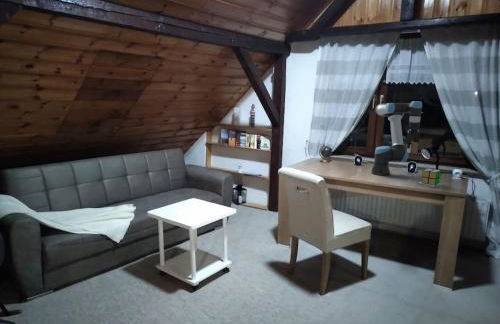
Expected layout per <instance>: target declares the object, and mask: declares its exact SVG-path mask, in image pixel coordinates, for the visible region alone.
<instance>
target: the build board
mask: <svg viewBox="0 0 500 324" xmlns="http://www.w3.org/2000/svg"><path fill="white" fill-rule="evenodd" d="M416 184H417V185H420V186H424V187H427V186H428V188H431V187H432V189H436V188H439V187H444V186H445V185H446V184H445V183H440V182H439V183H438V184H437V185H430V184H424V183H421V181H417V182H416Z"/></svg>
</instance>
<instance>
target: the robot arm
mask: <svg viewBox="0 0 500 324" xmlns="http://www.w3.org/2000/svg"><path fill="white" fill-rule="evenodd" d="M422 109H423V102H422V101H418V100H417V101H416V100H415V101H414V100H413V101H411V102H409V103H407V102H405V103H404V102H397V103H396V102H395V103H394V102H387V103H379V104H377V105H376V107H375V108H374V112H375V114H376V115H378V116H380V117H387V119H388V121H389V122H390V124H389V125H390V134H391V144H392V145H391V146H389V145H382V146H377V147H376V148H375V150H374V163H373V166H372V168H371V174H373V175H376V176H389V175H391V169H390V166H389V163H390V162H391V163H406V162H407V160H408V158H409V156H410V154H412V153H411V142H418V144H419V143H420V138H421V137H420V136H421V129H419V128H421V127H420V126H421V125H420V124H421V116H422ZM405 114H409V118H408V119H409V121H408V127H409V129H407V130H406V136H405V137H406V138H405V144H404V140H403V129H402V122H401V121H402V119H403V116H404V115H405ZM406 144H407V152H408V153H406V152H405V151H406Z"/></svg>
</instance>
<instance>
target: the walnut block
mask: <svg viewBox="0 0 500 324" xmlns="http://www.w3.org/2000/svg"><path fill="white" fill-rule="evenodd" d="M405 148H406V151H405V152H406V153H408V152H407V144H406V143H405ZM418 148H419V143H418V142H414V141H411V153H410V154H417V153H418V151H419V149H418Z"/></svg>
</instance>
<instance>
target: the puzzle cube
mask: <svg viewBox="0 0 500 324" xmlns="http://www.w3.org/2000/svg"><path fill="white" fill-rule="evenodd" d="M441 171H442V170H441V169H440V170H439V169H432V168H425V169H423V170H422V174H421V180H420V182H421V183H424V184H430V185H437V184H438V183H440V180H441Z"/></svg>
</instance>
